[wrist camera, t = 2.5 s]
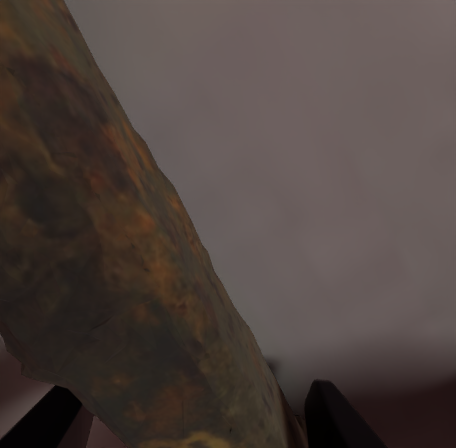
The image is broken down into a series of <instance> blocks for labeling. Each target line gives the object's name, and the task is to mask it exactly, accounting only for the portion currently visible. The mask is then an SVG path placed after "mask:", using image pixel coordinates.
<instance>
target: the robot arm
mask: <svg viewBox="0 0 456 448" xmlns="http://www.w3.org/2000/svg"><path fill="white" fill-rule="evenodd" d="M304 410H305V420H306V429H307V438H308V447H309V448H387V446H386V445H385V444H384V443H383V442H382V441H381V439H380V438H379V437H378V436H377V435H376V433H375V432H374V431H373V430H372V429H371V428H370V426H369V425H368V424H367V423H366V422H365V421H364V419H363V418H362V417H361V416H360V415H359V413H358V412H357V411H356V410H355V409H354V408H353V406H352V405H351V404H350V403H349V402H348V401H347V399H346V398H345V397H344V396H343V395H342V394H341V392H340V391H339V390H338V389H337V388H336V386H335V385H334V384H333V383H332V382H330V381H328V380H318V379H316V380H314V381H313V382H312V385H311V387H310V390H309V392H308V395H307V398H306V400H305V406H304ZM93 417H94V414H92V413H91V412H90V411H88V410H87V409H86V408H85V407H84V405H83V404H82V403H81V401H80V400H79V399H78V398H77V397H76V396H75V395H74V394H73V393H72V392H71V391H70V390H69V389H68V388H65V387H61V386H57V385H55V386H54V387H53V388H52V389H51V390H50V391H49V392H48V393H47V394H46V395H45V396H44V397H43V398H42V399H41V400H40V401H39V402H38V403H37V404H36V405H35V406H34V407H33V408H32V409H31V410H30V411H29V412H28V413H27V414H26V415H25V416H24V417H23V418H21V419H20V420H19V421H18V422H17V423H16V424H15V425H14V426H13V427H12V428H11V429H10V430H9V431H8V432H7V433H6V434H5V435H4V436H3V437H2V438H1V439H0V448H86V444H87V440H88V436H89V432H90V428H91V425H92V421H93Z"/></svg>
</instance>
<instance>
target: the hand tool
mask: <svg viewBox="0 0 456 448" xmlns="http://www.w3.org/2000/svg"><path fill="white" fill-rule="evenodd" d="M0 333H1V335H2V337H3V339H4V342H5V345H6V348H7V351H8V352H9V353H10V354H12V355H13V356H14V357H16V358H17V359H18V360H19V361H21V375H24V376H26V377H29V378H32V379H35V380H39V381H43V382H46V383H50V384H54V385H57V386H61V387H65V388H68V389H69V390H70V391H71V392H72V393H73V394H74V395H75V396H76V397H77V398H78V399H79V400H80V401H81V403H82V404H83V405H84V407H85V408H86V409H87V410H88V411H90V412H91V413H92V414H94V415H95V416H96V417H98V418H99V419H100V420H101V421H102V422H103V423H104V424H105V425H106V426H107V427H108V428H109V429H110V430H111V431H112V432H113V433H114V434H115V435H116V436H117V437H118V438H119V439H120V440H121V441H122V442H123V443H124V444H125V445H126V446H127V447H128V448H309V447H308V438H307V429H306V422H305V421H304V420H303V419H302V418H301V417H300V416H294V414H293V412H292V410H291V408H290V406H289V404H288V402H287V400H286V399H285V396H284V394H283V392H282V390H281V388H280V386H279V384H278V382H277V381H276V379H275V377H274V375H273V374H272V372H271V370H270V368H269V367H268V365H267V363H266V361H265V359H264V357H263V355H262V353H261V350H260V348H259V346H258V344H257V342H256V339H255V337H254V335H253V333H252V332H251V330H250V328H249V326H248V325H247V324H246V322H245V321H244V320H243V319H242V317H241V316H240V314H239V313H238V311H237V310H236V308H235V307H234V305H233V303H232V301H231V300H230V298H229V296H228V294H227V292H226V290H225V288H224V286H223V284H222V282H221V281H220V279H219V278H218V276H217V275H216V273H215V271H214V269H213V266H212V263H211V260H210V257H209V254H208V251H207V250H206V249H205V248H204V246H203V245H202V243H201V241H200V239H199V237H198V234H197V232H196V230H195V228H194V225H193V223H192V221H191V219H190V217H189V215H188V213H187V211H186V209H185V207H184V205H183V203H182V201H181V199H180V197H179V195H178V193H177V191H176V189H175V187H174V186H173V184H172V183H171V182H170V181H169V180H168V178H167V177H166V176H165V175H164V174H163V173H162V171H161V170H160V169H159V168H158V166H157V164H156V162H155V160H154V158H153V156H152V154H151V152H150V150H149V148H148V146H147V144H146V142H145V141H144V140H143V139H142V137H141V136H140V135H139V134H138V133H137V132H136V131H135V130H134V128H133V127H132V125H131V123H130V121H129V119H128V117H127V115H126V114H125V112H124V110H123V108H122V106H121V104H120V102H119V101H118V99H117V97H116V95H115V93H114V92H113V90H112V88H111V87H110V85H109V84H108V82H107V80H106V79H105V77H104V76H103V74H102V72H101V71H100V69H99V68H98V66H97V64H96V62H95V60H94V58H93V56H92V54H91V52H90V50H89V48H88V46H87V44H86V42H85V40H84V38H83V36H82V34H81V32H80V30H79V28H78V26H77V24H76V22H75V21H74V19H73V17H72V15H71V13H70V11H69V9H68V8H67V6H66V4H65V2H64V0H0Z"/></svg>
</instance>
